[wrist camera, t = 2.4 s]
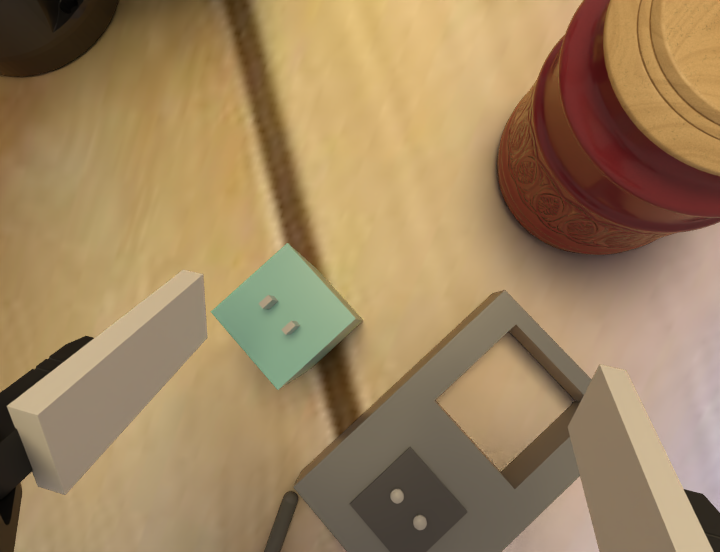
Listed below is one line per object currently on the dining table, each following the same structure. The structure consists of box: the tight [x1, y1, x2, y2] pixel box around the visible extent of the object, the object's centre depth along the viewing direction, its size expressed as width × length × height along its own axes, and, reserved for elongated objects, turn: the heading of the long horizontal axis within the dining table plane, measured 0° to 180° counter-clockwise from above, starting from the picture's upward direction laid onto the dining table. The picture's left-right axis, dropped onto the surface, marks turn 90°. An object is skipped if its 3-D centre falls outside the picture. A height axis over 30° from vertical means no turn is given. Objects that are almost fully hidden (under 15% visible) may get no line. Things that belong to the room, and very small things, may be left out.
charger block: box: [211, 243, 363, 390], centre depth 25 cm, size 5×5×11 cm
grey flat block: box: [294, 290, 591, 552], centre depth 28 cm, size 18×11×3 cm, turn 132°
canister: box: [497, 0, 720, 255], centre depth 22 cm, size 13×13×18 cm
